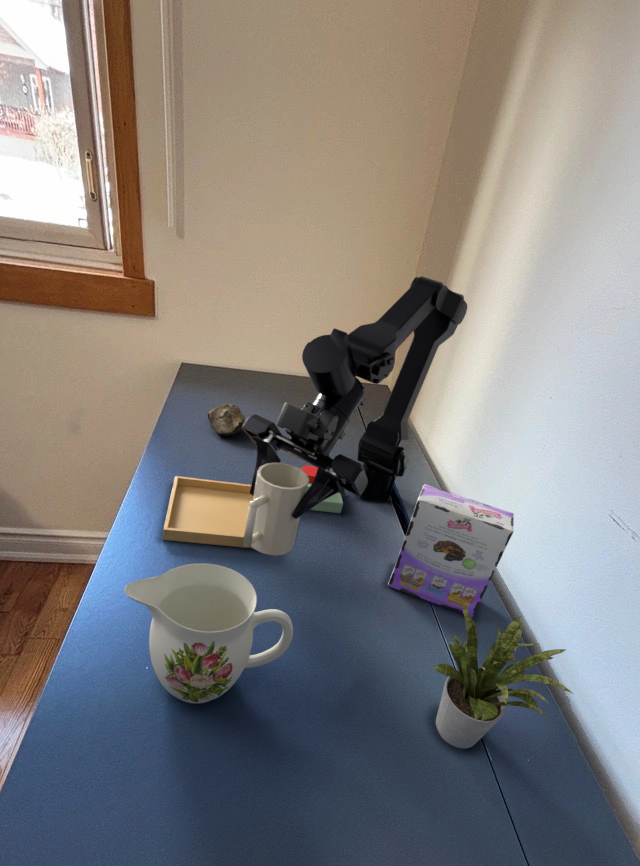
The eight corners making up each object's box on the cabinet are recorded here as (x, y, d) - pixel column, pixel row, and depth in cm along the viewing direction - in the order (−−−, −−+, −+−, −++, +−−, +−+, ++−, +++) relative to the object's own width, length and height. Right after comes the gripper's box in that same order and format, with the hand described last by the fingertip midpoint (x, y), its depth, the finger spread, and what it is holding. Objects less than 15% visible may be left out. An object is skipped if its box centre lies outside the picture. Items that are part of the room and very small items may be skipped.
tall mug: (266, 520, 82) (278, 457, 76) (303, 541, 79) (318, 477, 73) (222, 548, 74) (231, 480, 68) (262, 572, 71) (274, 504, 65)
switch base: (333, 485, 107) (338, 468, 105) (340, 513, 99) (345, 495, 97) (274, 478, 104) (277, 460, 102) (276, 506, 96) (279, 487, 94)
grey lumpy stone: (247, 432, 113) (248, 420, 122) (234, 403, 110) (236, 393, 119) (214, 445, 114) (218, 432, 123) (200, 416, 111) (205, 405, 120)
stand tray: (265, 495, 98) (266, 486, 97) (267, 549, 85) (269, 539, 84) (174, 485, 95) (175, 475, 94) (162, 539, 82) (163, 529, 81)
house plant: (529, 815, 57) (605, 720, 48) (402, 778, 57) (453, 677, 48) (511, 706, 69) (569, 614, 60) (406, 676, 69) (448, 581, 60)
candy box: (475, 596, 86) (516, 512, 77) (472, 619, 81) (515, 532, 72) (394, 566, 88) (424, 481, 80) (386, 586, 84) (417, 498, 75)
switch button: (319, 475, 102) (321, 467, 101) (321, 485, 98) (323, 477, 97) (298, 472, 101) (300, 464, 100) (300, 483, 98) (302, 474, 97)
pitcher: (287, 717, 60) (311, 631, 53) (118, 723, 56) (117, 629, 48) (276, 643, 69) (295, 561, 62) (128, 643, 64) (130, 553, 57)
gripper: (259, 357, 71) (194, 454, 69) (380, 408, 65) (314, 517, 62) (283, 400, 82) (228, 485, 79) (390, 448, 75) (334, 543, 73)
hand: (272, 505), depth 73 cm, fingers closed on tall mug, 7 cm apart
